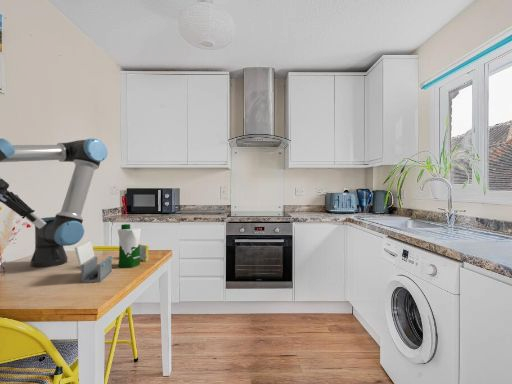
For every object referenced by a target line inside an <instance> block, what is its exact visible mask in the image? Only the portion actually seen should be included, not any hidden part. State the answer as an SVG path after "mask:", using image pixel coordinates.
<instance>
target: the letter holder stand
mask: <svg viewBox="0 0 512 384" xmlns="http://www.w3.org/2000/svg"><path fill="white" fill-rule="evenodd" d="M112 261H113V256H112V255H108V257H106V258H105V259H103V260H102V261H100V262H99V263H98V256H94V257H92V258H91V259H89V260H88V261H86V262H84V263H83V264H81V266H80V267H81V269H80V270H81V273H80V274H81V277H80V279H81V284H84V283H85V284H86V283H87V284H88V283H101V282H102V281H103V280H104V279H105V278H106V277H108V276H109V275H110V274H111V273H112V269H113V267H112V266H113V262H112Z"/></svg>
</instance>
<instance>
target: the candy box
mask: <svg viewBox="0 0 512 384" xmlns="http://www.w3.org/2000/svg"><path fill="white" fill-rule="evenodd" d="M149 249H150V245H148V244H140V262H144V263H146V262H149Z"/></svg>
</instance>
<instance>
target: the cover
mask: <svg viewBox="0 0 512 384" xmlns="http://www.w3.org/2000/svg"><path fill="white" fill-rule="evenodd" d="M74 251H75V255H76V259H77V263H78V265H79V266H80V265H82V264H84V263H86V262H87V261H89V260H90V259H92V258H94V257H96V256H95V252H94V251H95V250H94V248H93V243H92V240H89V241H87V242H84V243H82V244H80V245H78V246H76V247H74Z"/></svg>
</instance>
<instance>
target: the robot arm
mask: <svg viewBox="0 0 512 384" xmlns="http://www.w3.org/2000/svg"><path fill="white" fill-rule="evenodd" d="M107 157H108V147H107V146H106V144H105V143H104V142H103V141H102V140H100V139H98V138H87V139H80V140H79V139H77V140H74V141H68V142H57V143H56V144H12V143H11V142H9V141H8V140H7V139H5V138H2V137H1V138H0V163H17V162H35V161H36V162H38V161H39V162H42V161H44V162H45V161H59V162H61V163H62V162H64V163H65V162H66V163H67V162H69V163H70V162H72V163H74V165H75V166H74V169H73V172H72V175H71V179H70V181H69V182H70V183H69V185H68V187H67V188H68V189H67V190H66V191H67V192H66V195H65V198H64V201H63V204H62V207H61V210H60V212H58V213H56V214H55V216H51V217H50V216H49V217H40V216H38V215H37V213H35V211H36V210H35V209H32V208H31V207H30V205H28V204H26V203H25V201H23V200H22V199H21V198H20V196H19V195H18V194H15V193H14V192H13V191H9V190H8V189H9V188H10V184H9V183H8V182H7V181H6V180H5V179H3V178H0V203H2V204H4V205H5V206H6V207H7V208H9V209H11V210H12V211H13V212H15V213H16V214H17V215H19V216H20V217H21V218H22V220H23V219H25V218H26V220H27V221H29V222H30V223H32V225H34V229H35V230H34V240H35V241H34V244H35V247H34V248H35V249H34V252H33V254H32V256H31V260H30V267H33V268H47V267H55V266H59V265H63V264H66V263H67V262H68V256H67V254H66V250H65V246H74V245H76V244H77V243H79V242H81V240H82V239H83V237H84V235H85V227H84V225H83V222H84V219H83V217H82V213H83V209H84V206H85V203H86V200H87V196H88V192H89V189H90V186H91V184H92V183H91V182H92V179H93V176H94V174H95V173H94V172H95V170H97V169H99V168H100V164H101V162H103V161H105V160H106V159H107Z"/></svg>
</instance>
